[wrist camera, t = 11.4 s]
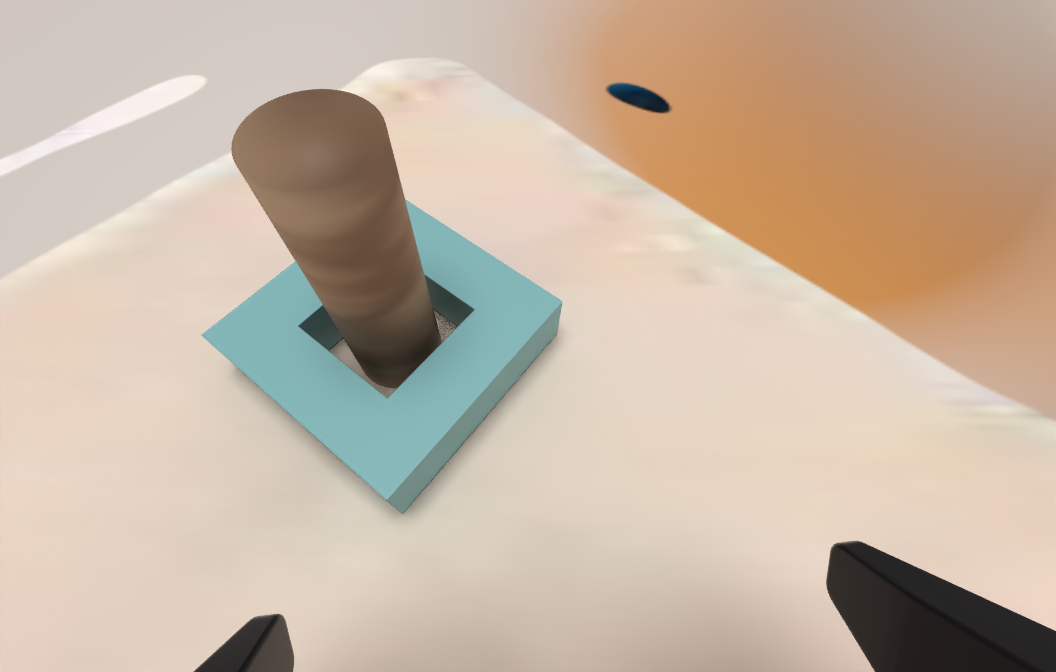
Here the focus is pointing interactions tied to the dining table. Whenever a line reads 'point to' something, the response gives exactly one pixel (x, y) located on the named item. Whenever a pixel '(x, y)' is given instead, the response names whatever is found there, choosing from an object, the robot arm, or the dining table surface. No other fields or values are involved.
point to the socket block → (428, 393)
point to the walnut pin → (344, 222)
